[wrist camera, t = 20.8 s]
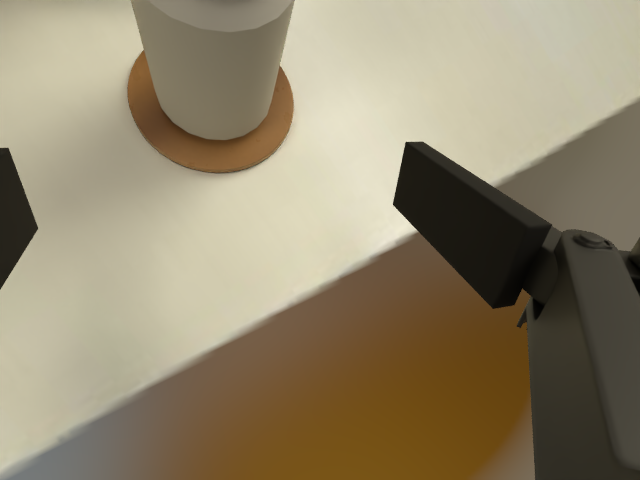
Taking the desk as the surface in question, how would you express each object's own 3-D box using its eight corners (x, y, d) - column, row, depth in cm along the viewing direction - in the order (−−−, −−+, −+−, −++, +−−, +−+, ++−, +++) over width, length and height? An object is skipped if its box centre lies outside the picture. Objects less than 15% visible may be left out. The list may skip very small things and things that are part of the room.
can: (146, 134, 24) (83, -39, 13) (167, 37, 26) (128, -189, 15) (263, 155, 26) (298, 20, 14) (275, 63, 28) (314, -121, 16)
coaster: (90, 88, 24) (88, 83, 24) (215, 6, 28) (215, 0, 28) (215, 205, 25) (215, 203, 24) (322, 109, 28) (323, 105, 28)
